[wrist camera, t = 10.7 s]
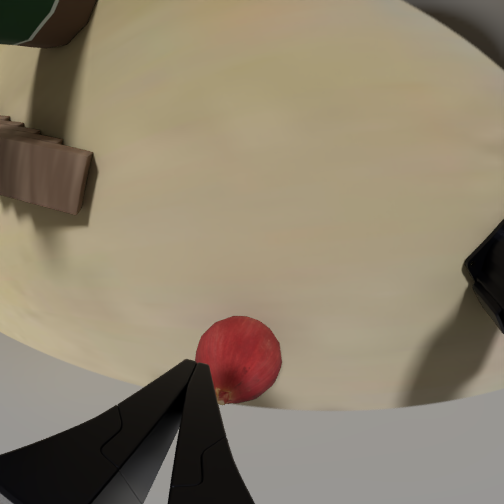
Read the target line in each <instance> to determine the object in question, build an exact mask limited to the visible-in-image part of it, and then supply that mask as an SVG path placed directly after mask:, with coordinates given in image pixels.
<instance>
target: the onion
mask: <svg viewBox="0 0 504 504" xmlns="http://www.w3.org/2000/svg"><path fill="white" fill-rule="evenodd" d="M195 361H196V362H197V363H198V362H200V363H204V364H208V365H209V366H210V371H211V375H212V380H213V384H214V389H215V393H216V397H217V401H218V404H220V405H225V404H230V403H241V402H245V401H250V400H253V399H256V398H257V397H259V396H260V395H261V394H263V393H264V392H265V391H266V390H267V389H269V388H270V387H271V386H272V385H273V384H274V382H275V381H276V378H277V376H278V373H279V371H280V368H281V364H282V359H281V352H280V345H279V342H278V340H277V339H276V337H275V336H274V334H273V333H272V331H271V330H270V328H268V327H267V326H266V325H264V324H263V323H262V322H260V321H258V320H255V319H253V318H250V317H247V316H232V317H229V318H227V319H224V320H221V321H218V322H215V323H214V324H213V325H212V326H211V327H210V328H209V329H208V330H207V331H206V332H205V333H204V334H203V335H202V336H201V339H200V341H199V344H198V348H197V351H196V358H195Z"/></svg>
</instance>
